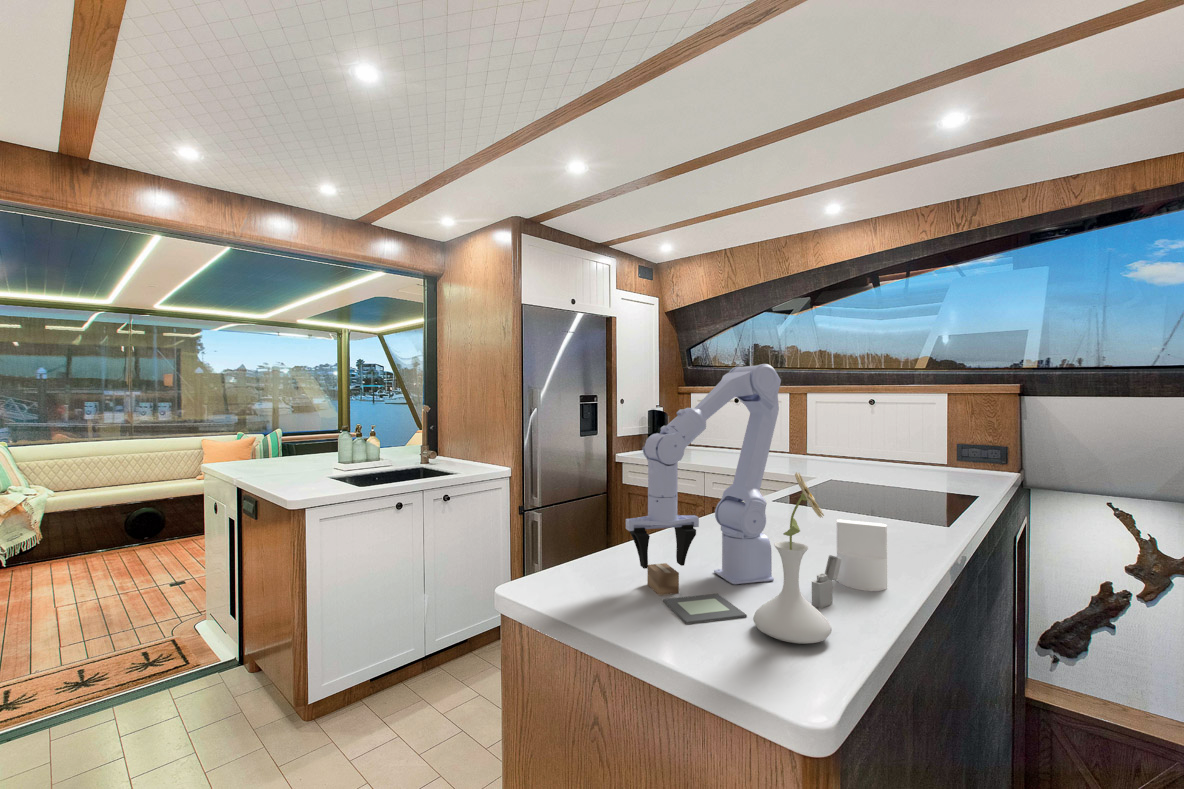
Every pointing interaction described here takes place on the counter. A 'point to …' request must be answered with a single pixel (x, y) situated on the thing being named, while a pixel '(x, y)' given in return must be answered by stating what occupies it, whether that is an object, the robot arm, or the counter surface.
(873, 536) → the cylinder with rectangular tab
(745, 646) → the counter surface
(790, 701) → the counter surface
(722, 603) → the mat
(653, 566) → the cardboard box
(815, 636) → the flower in vase
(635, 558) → the counter surface
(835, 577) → the lighter
